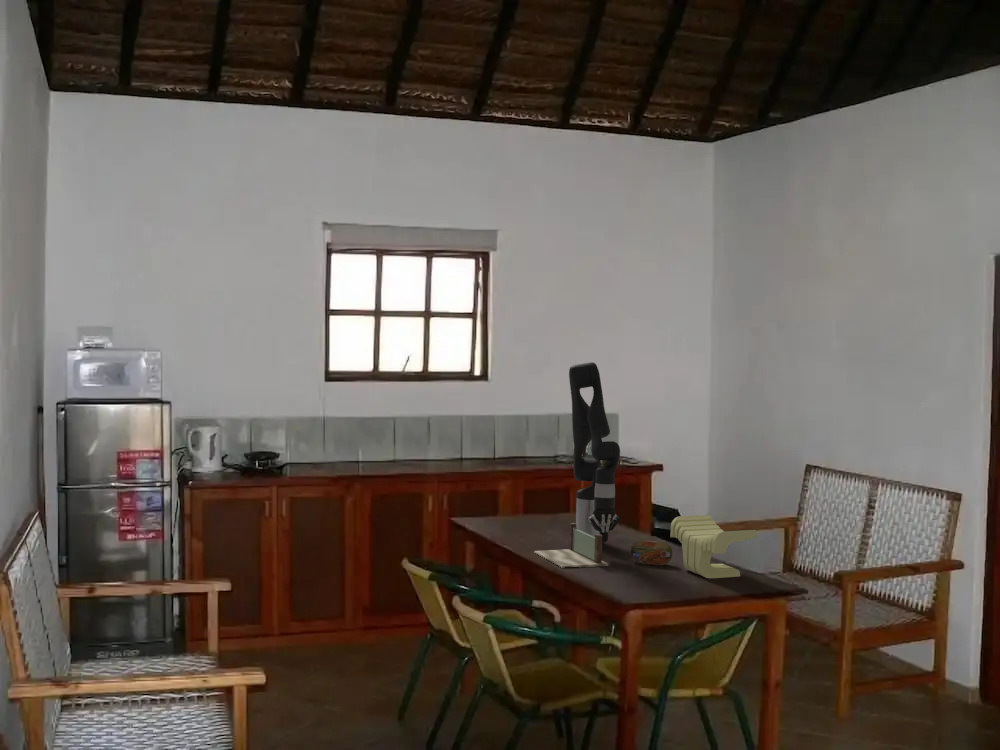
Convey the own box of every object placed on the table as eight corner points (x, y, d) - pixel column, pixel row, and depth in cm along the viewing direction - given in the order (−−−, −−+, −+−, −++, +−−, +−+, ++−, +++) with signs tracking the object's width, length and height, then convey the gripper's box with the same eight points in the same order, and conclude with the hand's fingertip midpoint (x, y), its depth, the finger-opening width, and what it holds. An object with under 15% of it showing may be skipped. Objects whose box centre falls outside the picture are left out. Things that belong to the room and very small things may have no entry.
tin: (630, 562, 398) (630, 539, 398) (632, 561, 401) (632, 538, 400) (671, 566, 393) (671, 543, 392) (672, 565, 396) (673, 541, 395)
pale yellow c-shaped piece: (669, 565, 394) (670, 516, 393) (708, 563, 400) (709, 514, 399) (713, 584, 366) (715, 531, 365) (754, 581, 372) (756, 529, 371)
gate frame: (578, 550, 417) (578, 522, 417) (608, 565, 392) (608, 535, 391) (534, 553, 411) (534, 524, 411) (561, 568, 386) (562, 538, 385)
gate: (575, 549, 414) (576, 527, 413) (598, 560, 394) (598, 537, 394) (571, 549, 413) (572, 527, 413) (594, 560, 394) (594, 537, 393)
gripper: (616, 493, 409) (615, 539, 410) (584, 494, 405) (582, 540, 406) (625, 496, 402) (624, 543, 403) (592, 497, 398) (591, 544, 399)
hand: (603, 542), depth 404 cm, fingers closed
